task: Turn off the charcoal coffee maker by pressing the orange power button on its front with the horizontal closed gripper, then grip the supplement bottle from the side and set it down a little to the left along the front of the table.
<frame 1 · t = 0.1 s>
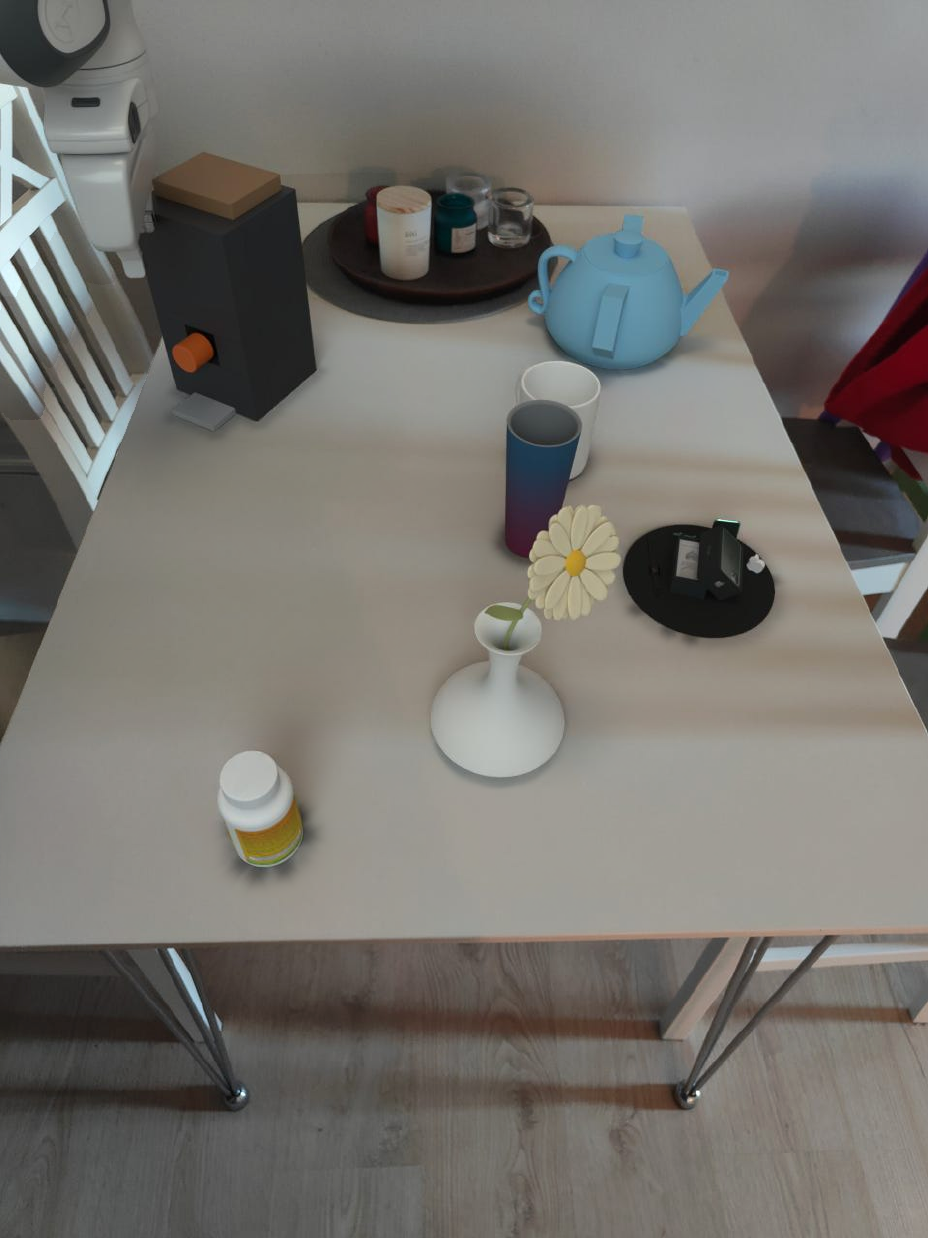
hand: (142, 250, 82), 21 cm above the table, tool pointing down, fingers open, 7 cm apart
teapot: (614, 339, 113), on the table
mug: (541, 452, 97), on the table
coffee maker: (247, 379, 104), on the table
cup: (528, 541, 88), on the table
flower in vase: (505, 727, 74), on the table
black round display stand: (697, 580, 85), on the table
power button: (193, 352, 93), point 8 cm above the table, slide at -0.1 cm
supplement bottle: (269, 837, 67), on the table
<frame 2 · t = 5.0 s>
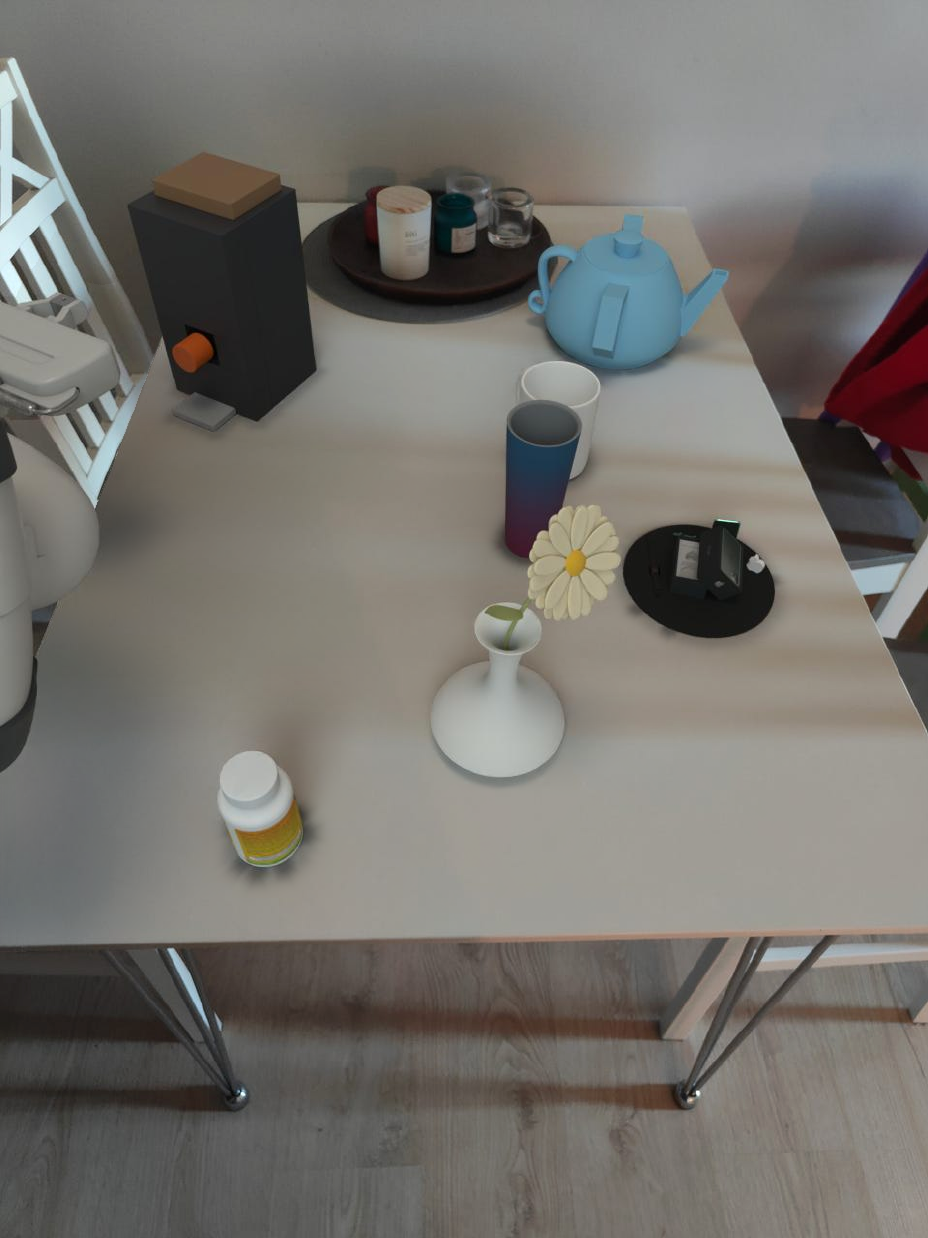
hand: (74, 303, 77), 20 cm above the table, tool horizontal, fingers closed
nothing on the table moved.
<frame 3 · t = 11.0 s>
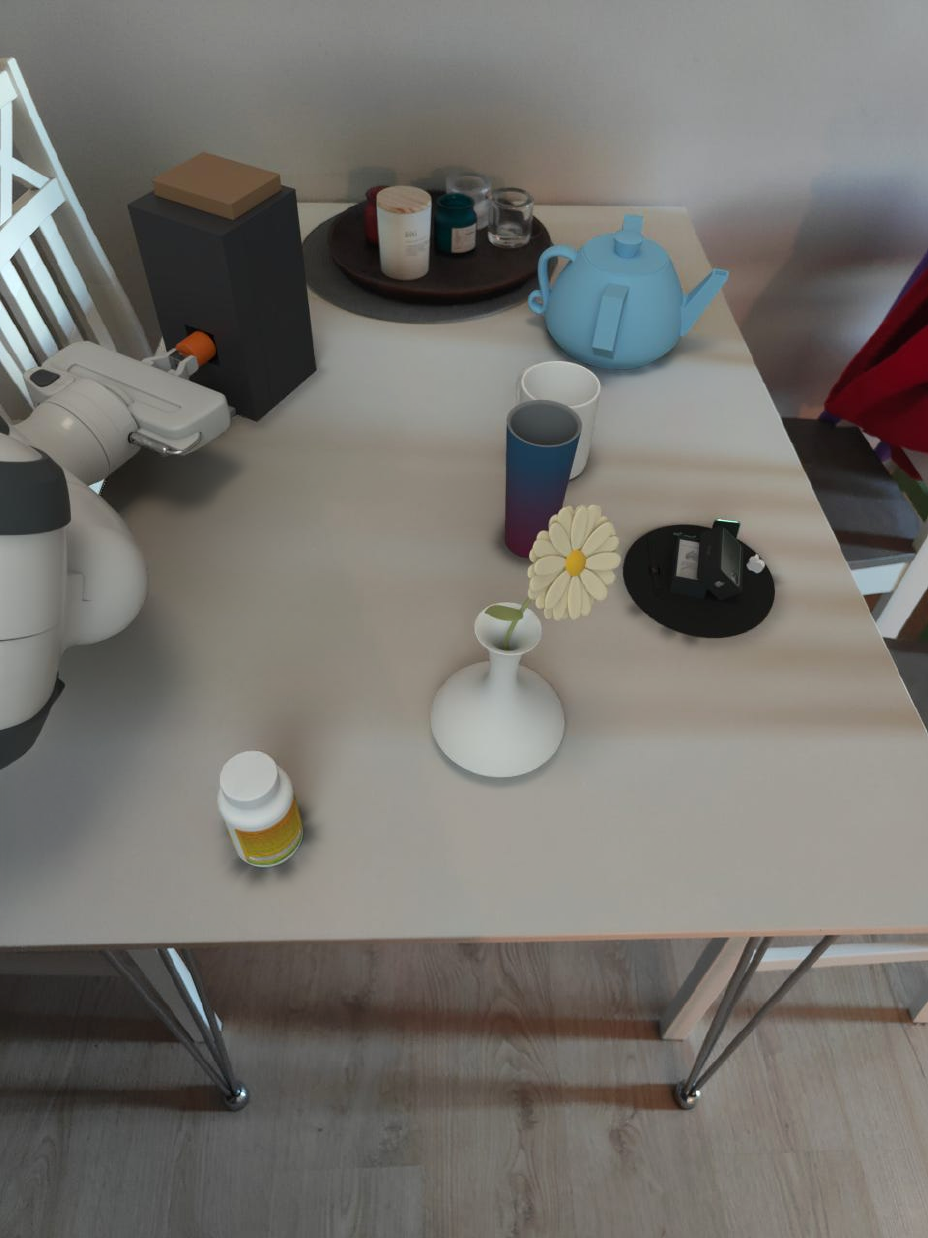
hand: (187, 357, 93), 8 cm above the table, tool horizontal, fingers closed, pressing on power button
power button: (195, 350, 94), point 8 cm above the table, slide at 0.4 cm, touching gripper
everything else where it was.
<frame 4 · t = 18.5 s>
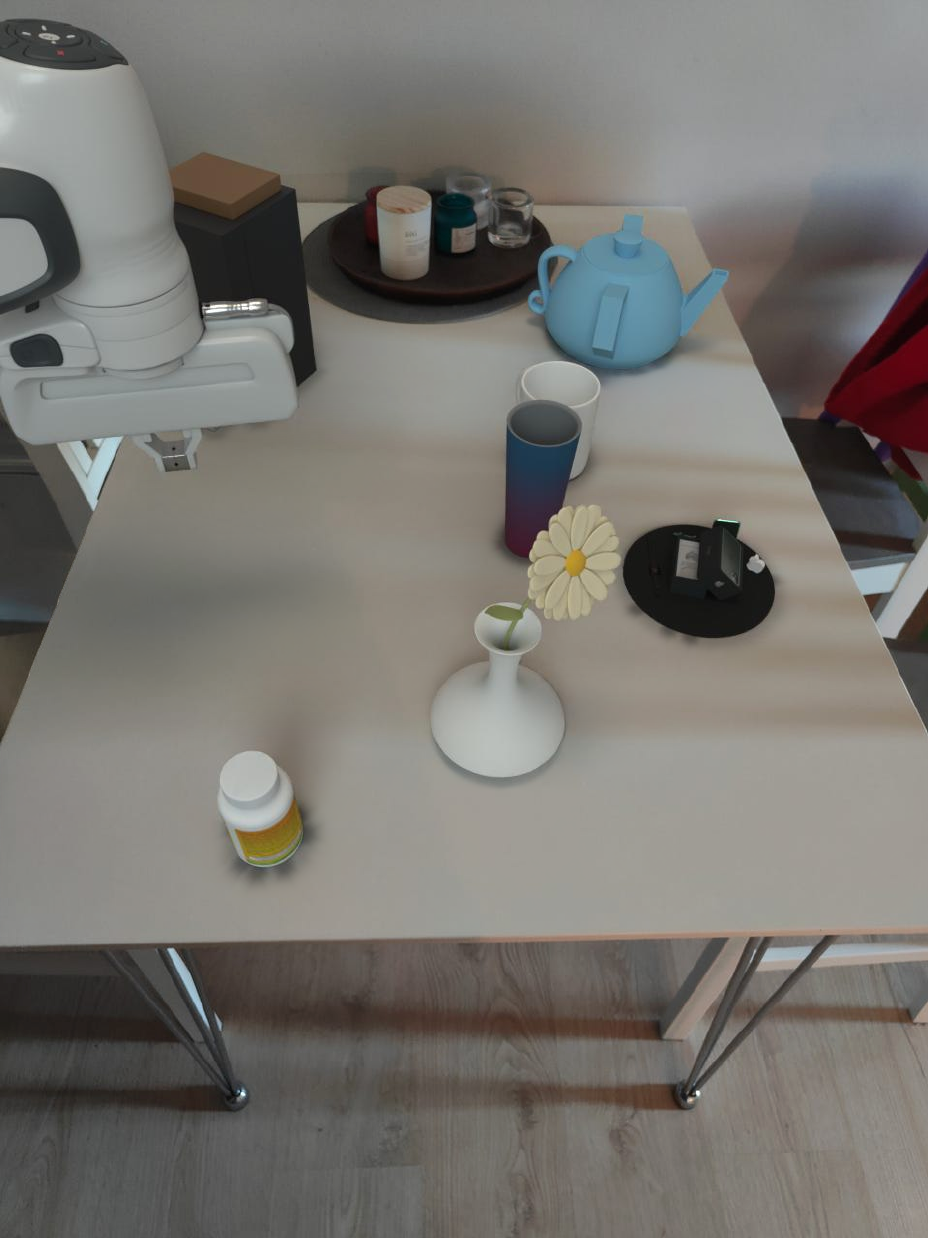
hand: (178, 465, 68), 17 cm above the table, tool pointing down, fingers closed
power button: (193, 352, 93), point 8 cm above the table, slide at -0.1 cm
everything else where it was.
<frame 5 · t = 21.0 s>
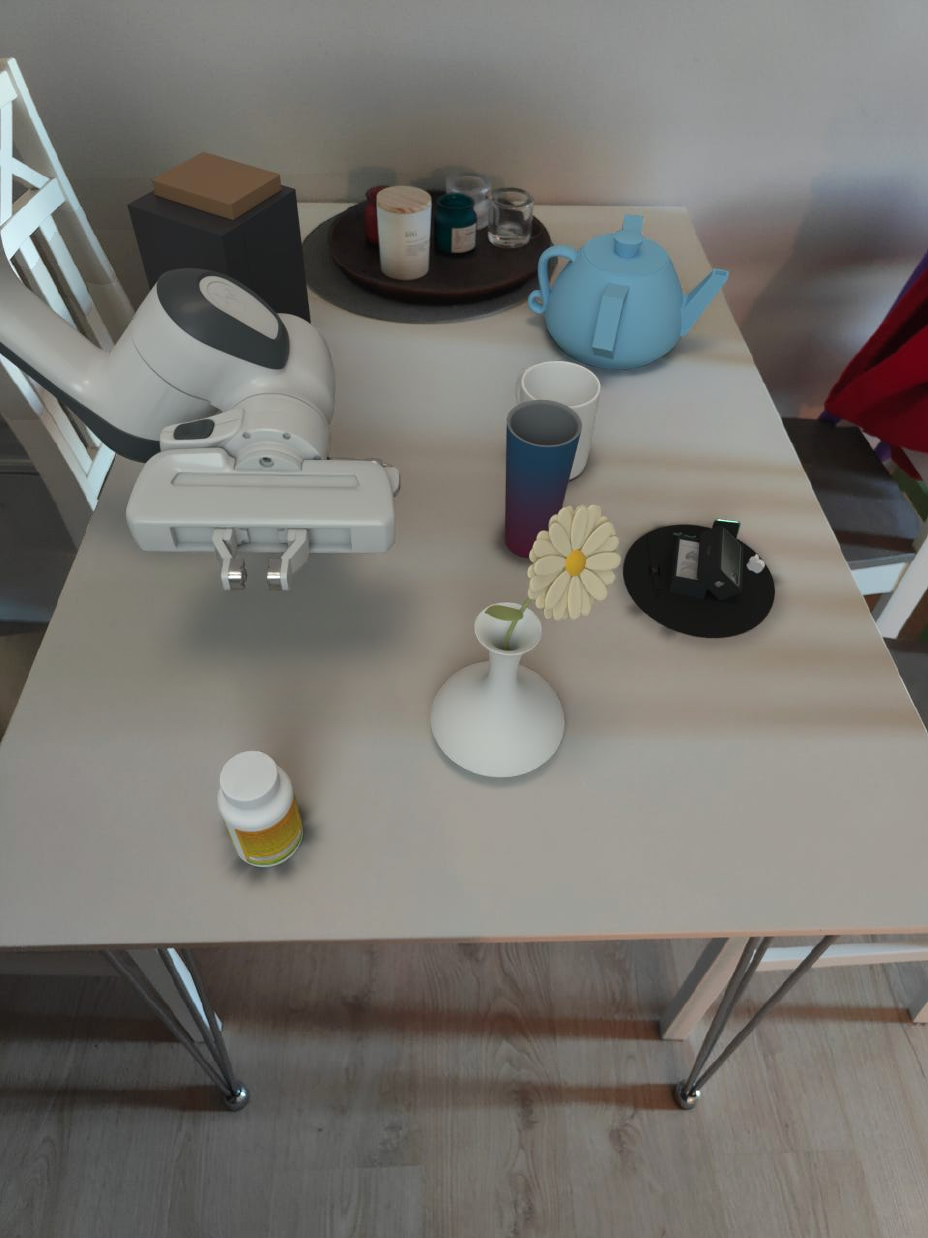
hand: (255, 584, 62), 16 cm above the table, tool horizontal, fingers closed
nothing on the table moved.
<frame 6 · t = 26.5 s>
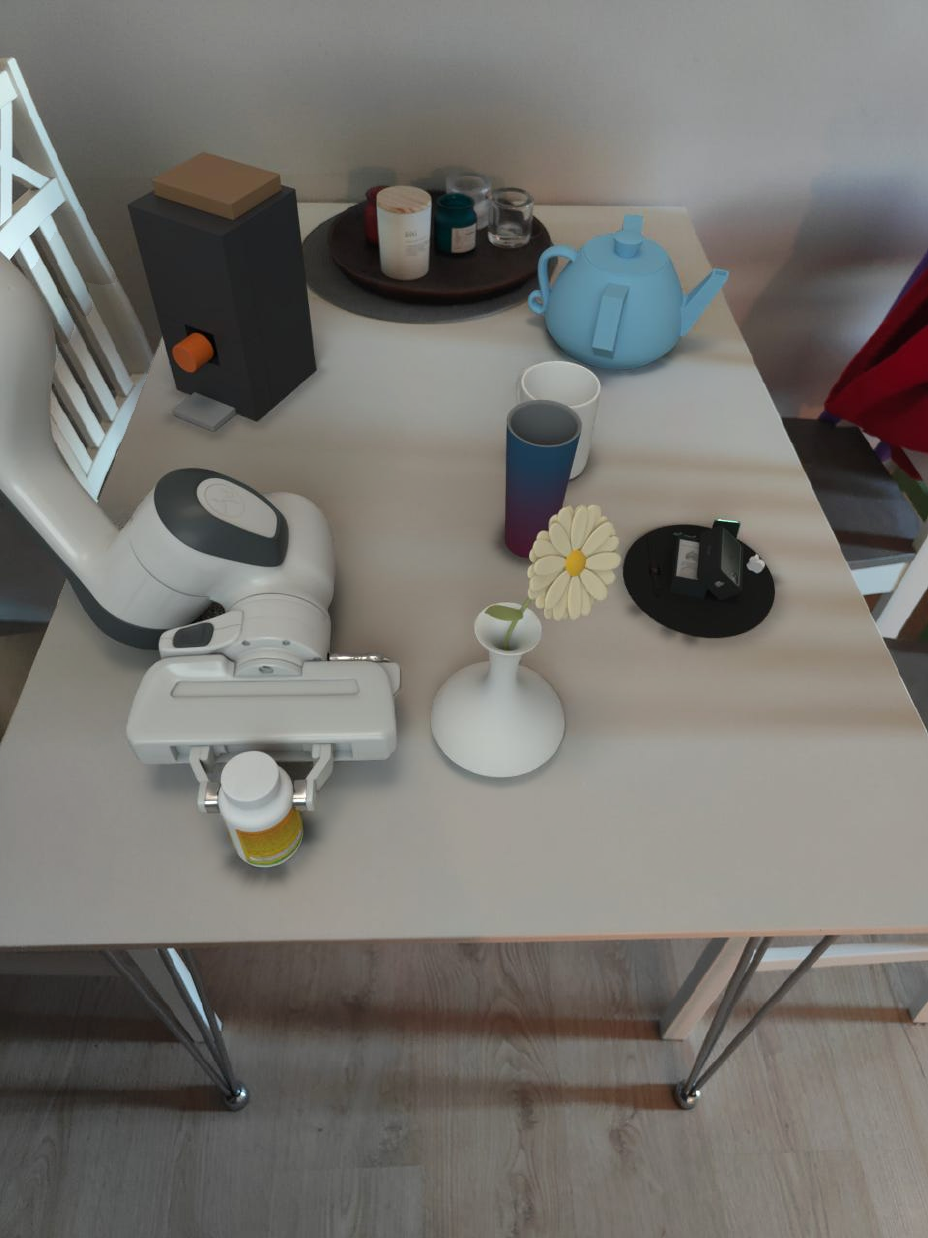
hand: (255, 808, 61), 6 cm above the table, tool horizontal, fingers closed on supplement bottle, 5 cm apart
supplement bottle: (269, 837, 67), on the table, touching gripper
everything else where it was.
when the fingers open (6 cm above the table, at t = 33.1 s): supplement bottle stays where it is, on the table.
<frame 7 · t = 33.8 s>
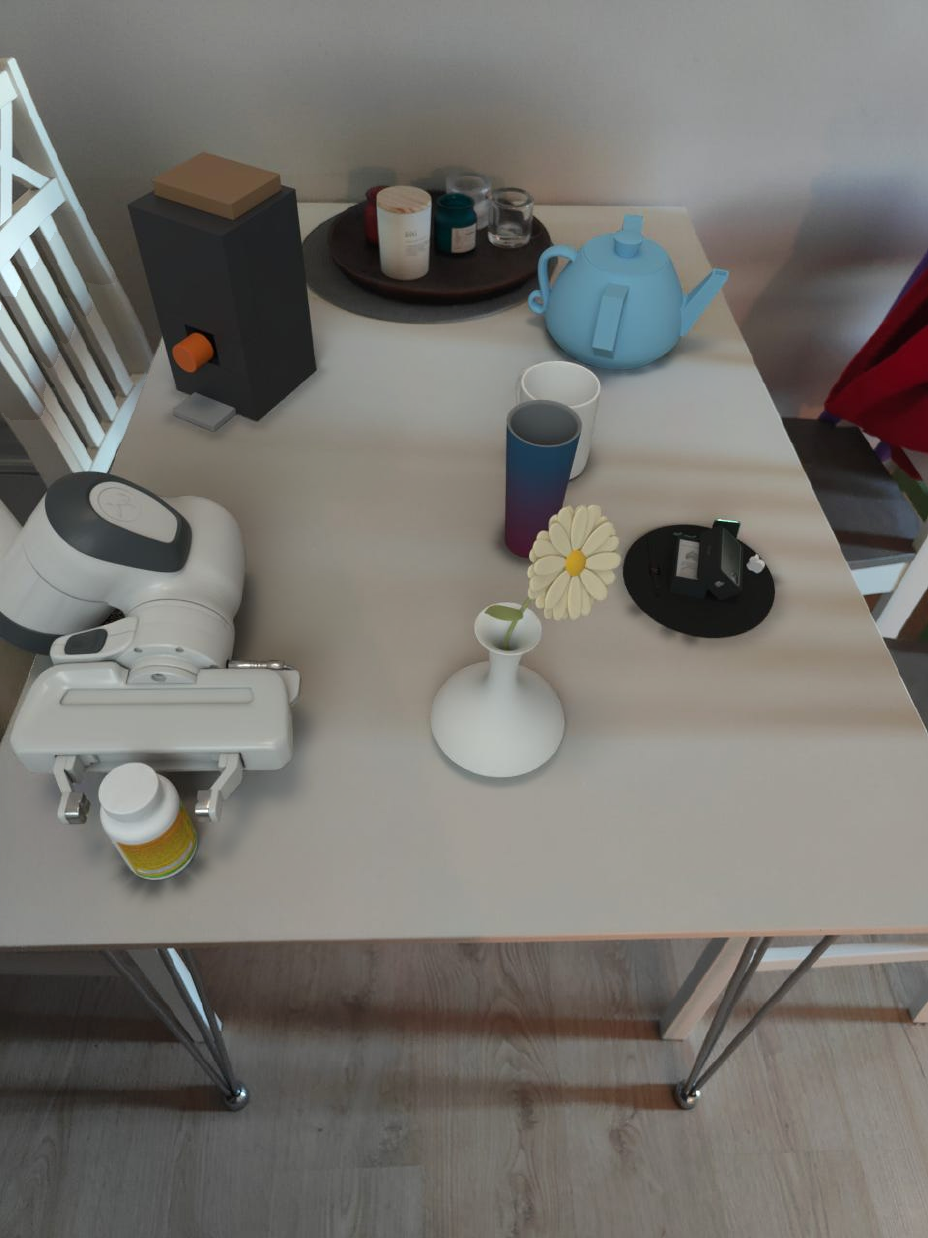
hand: (139, 820, 60), 6 cm above the table, tool horizontal, fingers open, 8 cm apart
supplement bottle: (163, 849, 66), on the table
everything else where it was.
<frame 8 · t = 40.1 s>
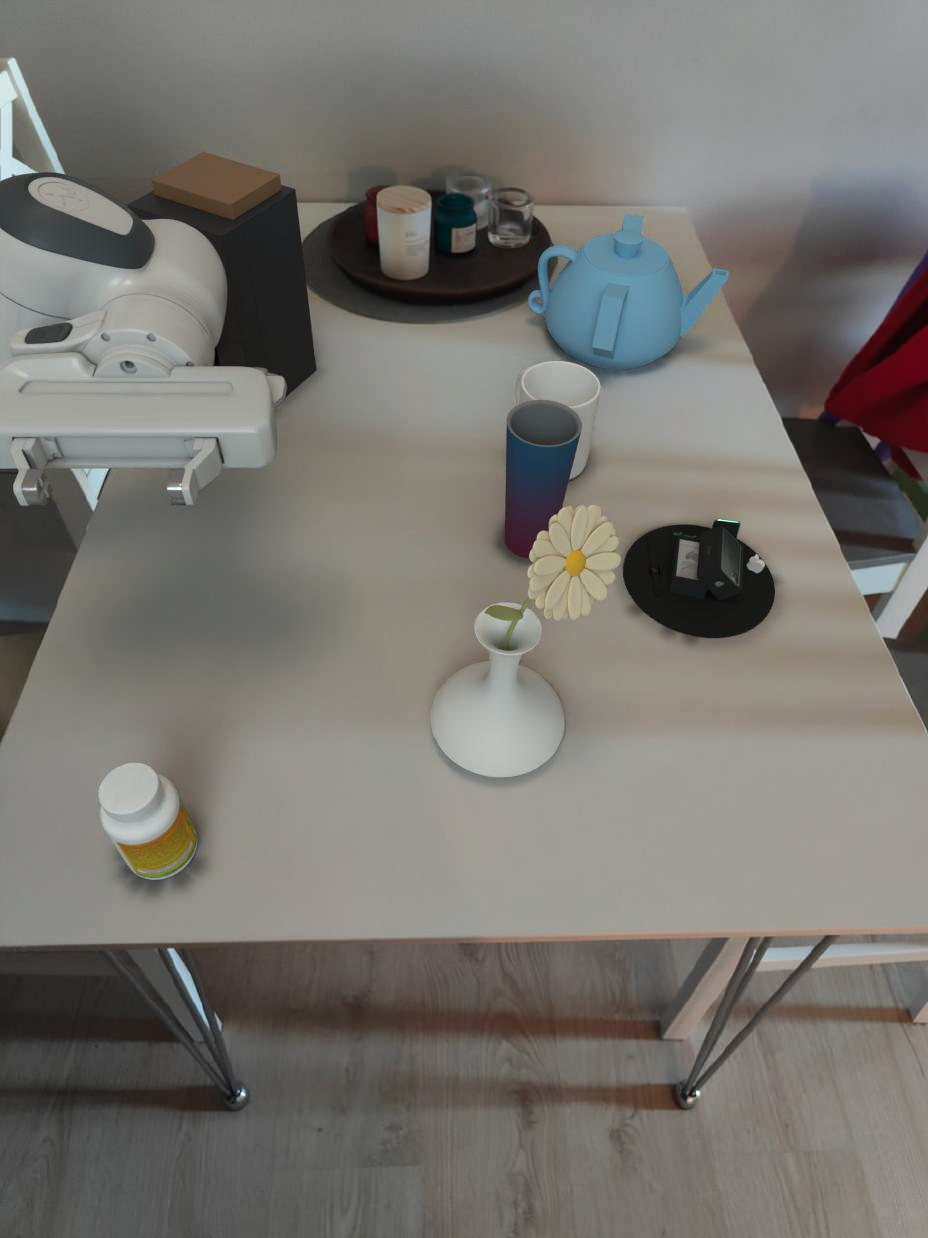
hand: (104, 498, 54), 25 cm above the table, tool horizontal, fingers open, 8 cm apart
nothing on the table moved.
at the end: power button pulled out 1.0 cm at the most during the clip, back to where it started at the end; power button slide at -0.1 cm; supplement bottle inside the target area (0.1 cm from its centre), on the table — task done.
